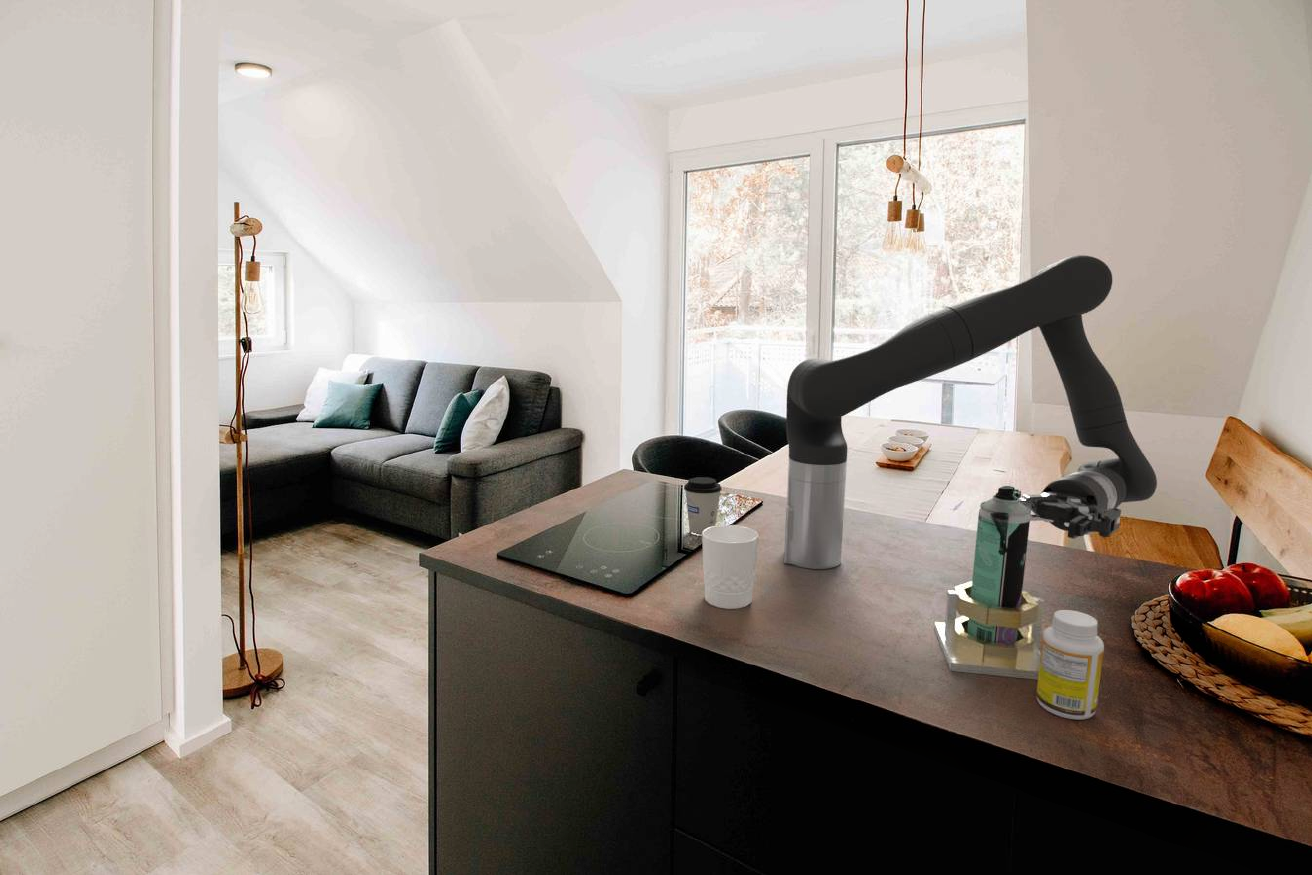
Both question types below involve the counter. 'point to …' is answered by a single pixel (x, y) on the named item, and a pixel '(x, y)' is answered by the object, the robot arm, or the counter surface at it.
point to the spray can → (999, 560)
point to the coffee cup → (702, 503)
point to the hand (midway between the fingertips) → (1035, 522)
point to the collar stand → (991, 656)
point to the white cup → (729, 565)
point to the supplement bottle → (1070, 666)
